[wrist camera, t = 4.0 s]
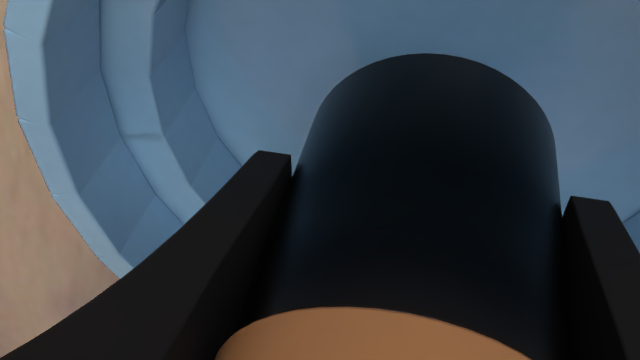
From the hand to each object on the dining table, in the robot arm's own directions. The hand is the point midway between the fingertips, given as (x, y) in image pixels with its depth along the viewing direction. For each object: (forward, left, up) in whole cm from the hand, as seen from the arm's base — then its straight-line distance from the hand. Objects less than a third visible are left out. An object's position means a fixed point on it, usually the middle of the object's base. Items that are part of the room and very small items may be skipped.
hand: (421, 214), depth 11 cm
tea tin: (0, 0, -2) cm, 2 cm away
